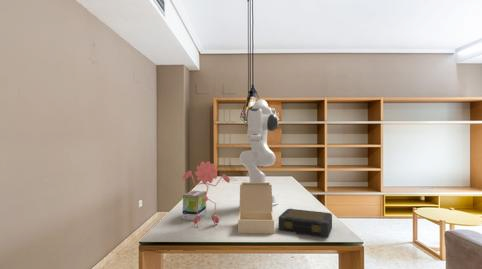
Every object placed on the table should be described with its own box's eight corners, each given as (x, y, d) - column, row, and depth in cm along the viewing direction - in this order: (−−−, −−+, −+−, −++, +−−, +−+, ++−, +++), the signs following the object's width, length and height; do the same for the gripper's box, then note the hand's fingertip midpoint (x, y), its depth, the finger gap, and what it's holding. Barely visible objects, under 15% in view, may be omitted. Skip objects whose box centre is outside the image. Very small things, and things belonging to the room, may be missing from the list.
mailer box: (272, 224, 156) (272, 212, 157) (274, 234, 140) (274, 220, 141) (239, 224, 157) (239, 211, 157) (238, 234, 141) (238, 220, 141)
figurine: (230, 227, 151) (230, 162, 152) (181, 228, 149) (181, 162, 150) (229, 219, 167) (229, 160, 168) (184, 221, 164) (185, 160, 166)
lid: (272, 210, 155) (272, 212, 157) (271, 182, 164) (271, 184, 166) (239, 210, 156) (239, 212, 158) (240, 182, 165) (240, 184, 167)
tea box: (198, 220, 164) (198, 195, 164) (182, 219, 166) (182, 194, 166) (206, 213, 179) (206, 190, 179) (191, 213, 181) (191, 189, 181)
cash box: (332, 226, 154) (332, 212, 154) (327, 239, 135) (327, 222, 135) (287, 221, 164) (287, 207, 164) (277, 231, 146) (277, 216, 146)
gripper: (249, 136, 172) (250, 158, 172) (249, 136, 152) (249, 162, 152) (260, 136, 172) (260, 158, 172) (261, 136, 151) (261, 162, 151)
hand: (255, 160), depth 162 cm, fingers closed
